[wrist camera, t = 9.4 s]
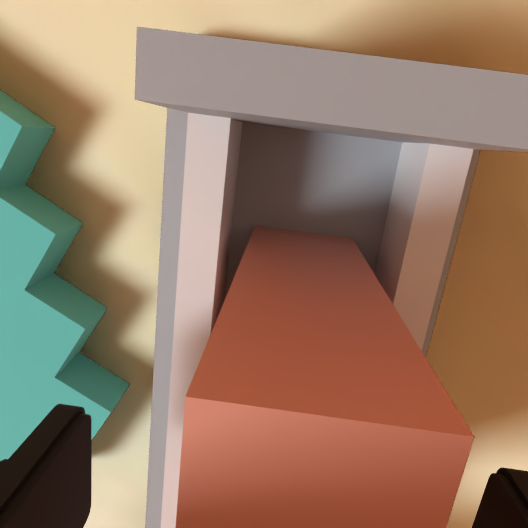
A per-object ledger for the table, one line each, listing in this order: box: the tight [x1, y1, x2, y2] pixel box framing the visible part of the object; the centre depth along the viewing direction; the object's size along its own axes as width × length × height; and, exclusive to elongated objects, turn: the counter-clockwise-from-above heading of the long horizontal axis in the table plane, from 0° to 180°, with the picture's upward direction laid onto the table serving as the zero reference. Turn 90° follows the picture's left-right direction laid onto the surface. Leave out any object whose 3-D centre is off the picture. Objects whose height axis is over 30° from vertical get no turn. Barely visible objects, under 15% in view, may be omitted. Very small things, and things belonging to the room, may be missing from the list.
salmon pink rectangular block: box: [176, 226, 474, 528], centre depth 10 cm, size 10×3×9 cm, turn 173°
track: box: [135, 27, 528, 528], centre depth 12 cm, size 20×9×7 cm, turn 173°
